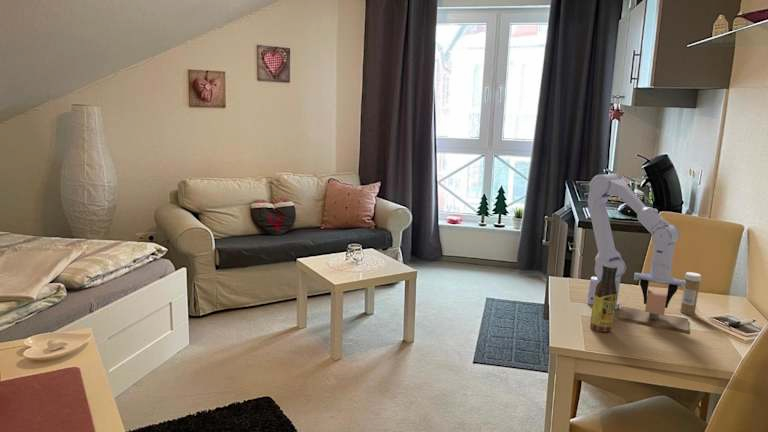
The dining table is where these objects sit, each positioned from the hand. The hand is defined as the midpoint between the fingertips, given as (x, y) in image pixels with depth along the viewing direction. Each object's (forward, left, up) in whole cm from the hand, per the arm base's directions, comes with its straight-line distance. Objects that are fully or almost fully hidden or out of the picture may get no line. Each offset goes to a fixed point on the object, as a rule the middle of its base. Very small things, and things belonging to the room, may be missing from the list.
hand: (655, 305), depth 187 cm
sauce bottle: (-14, -17, -5) cm, 23 cm away
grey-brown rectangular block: (0, 0, -5) cm, 5 cm away
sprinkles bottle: (+10, +14, -5) cm, 18 cm away
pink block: (0, 0, -2) cm, 2 cm away
